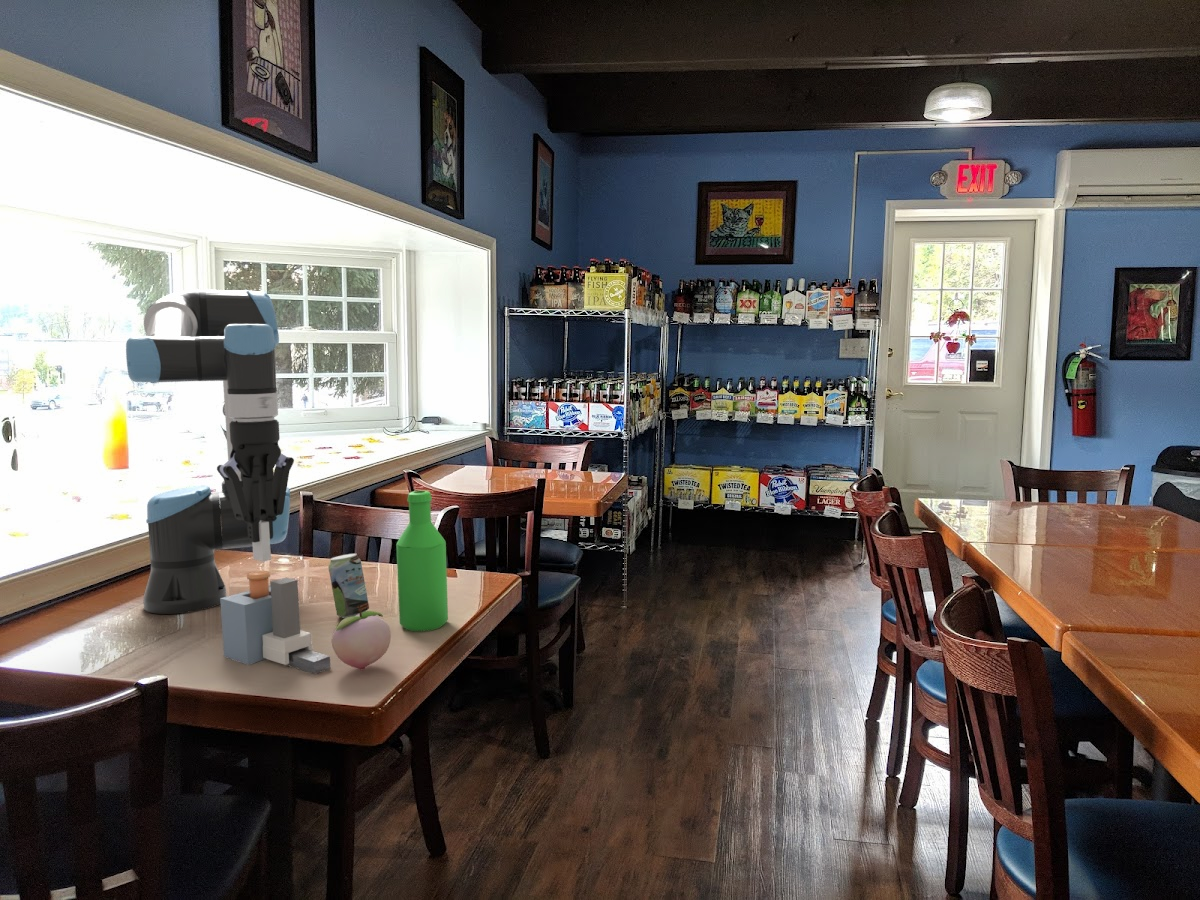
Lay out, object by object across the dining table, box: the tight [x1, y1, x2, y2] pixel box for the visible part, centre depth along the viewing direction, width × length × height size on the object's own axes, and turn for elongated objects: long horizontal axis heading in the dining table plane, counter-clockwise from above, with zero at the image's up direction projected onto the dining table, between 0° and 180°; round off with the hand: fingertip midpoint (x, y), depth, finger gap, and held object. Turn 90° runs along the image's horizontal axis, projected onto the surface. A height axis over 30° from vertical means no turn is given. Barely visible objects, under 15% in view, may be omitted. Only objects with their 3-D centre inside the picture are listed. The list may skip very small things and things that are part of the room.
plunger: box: [246, 570, 271, 599], centre depth 144 cm, size 4×4×5 cm
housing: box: [219, 585, 301, 666], centre depth 144 cm, size 7×10×10 cm
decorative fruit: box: [331, 608, 392, 671], centre depth 136 cm, size 9×8×10 cm
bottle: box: [396, 490, 449, 632], centre depth 156 cm, size 9×9×25 cm
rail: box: [286, 648, 331, 675], centre depth 139 cm, size 12×3×2 cm, turn 55°
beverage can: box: [328, 553, 370, 619], centre depth 163 cm, size 6×7×12 cm
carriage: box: [262, 576, 314, 666], centre depth 140 cm, size 6×5×13 cm
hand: (262, 559), depth 143 cm, fingers closed
